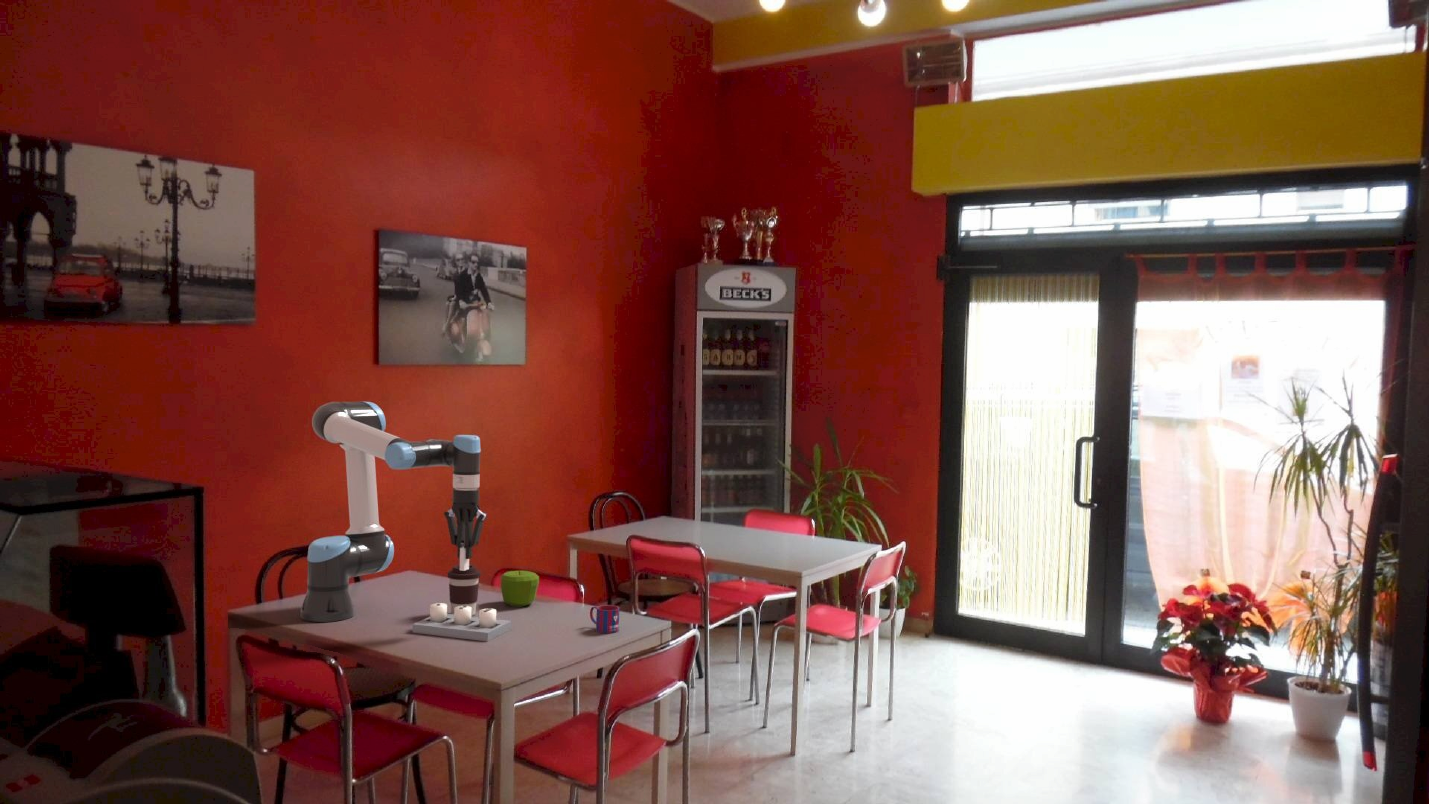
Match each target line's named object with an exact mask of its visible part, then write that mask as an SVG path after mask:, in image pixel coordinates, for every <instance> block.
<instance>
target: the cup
mask: <svg viewBox="0 0 1429 804" xmlns="http://www.w3.org/2000/svg"><path fill="white" fill-rule="evenodd" d="M594 609H596V618H594V615H593V614H594V613H593V612H594ZM589 617H590V620H591V622H592V623H593V624H594V625H595V630H596V632H597V633H600V634H615V633H618V632H619V631H620V630H619V629H620V607H619V606H618V605H613V604H602V605H599V606H591V608H590V611H589Z"/></svg>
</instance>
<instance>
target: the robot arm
mask: <svg viewBox="0 0 1429 804" xmlns="http://www.w3.org/2000/svg"><path fill="white" fill-rule="evenodd" d="M312 415H313V416H312V418H311V425H312V429H313V431H314V433H315V434H316V435H317V436H318V437H319V438H320V439H322V440H324V441H327V442H329V443H333V444H339V446H340V448H341V449H342V450H344V453H345V466H346V468H345V469H346V484H347V498H348V499H347V500H348V514H349V515H348V516H349V525H350V526H349V528H348V529H347V530H346V531H345V535H333V536H330V535H329V536H324V537H320V538H317V539H315V540H313V541H312V542H311V543H310V544H309V546H308V551H307V557H306V559H307V585H306V586H307V591H306V594H305V597H304V599H303V602H302V604H301V605H302V606H301V608H300V619H301V620H303V621H306V622H312V623H313V622H315V623H316V622H318V623H322V622H323V623H328V622H337V621H342V620H343V621H344V620H347V619H349V618H352V617H354V616H355V606H354V602H353V599H352V595H351V593H350V589H349V588H350V587H349V585H350V584H349V583H350V578H355V577H359V576H360V577H361V576H364V575H365V576H366V575H373V574H376V573H378V572H383V571H385V570H386V569H387V568H388V567H389V565H390V564H391V563H392V561H393V560H394V559H393V558H394V554H395V547H394V542H393V541H392V539H391V537H390V536H389V535H387V534H386V532H385V528H384V527H382V526H381V525H380V520H379V505H378V504H379V502H378V490H377V489H378V488H377V487H378V485H377V475H376V474H377V471H376V459H375V457H376V458H379V459H381V460H383V461H385V463H386V464H387V465H388V467H389V468H390V469H392V470H401V471H402V470H409V469H418V468H429V467H430V468H431V467H452V469H453V470H452V488H454V489H452V505H451V508H450V509H449V510H447V511H444V512H443V515H444V517H445V519H446V522H447V527H448V533H449V537H450V542H451V543H450V544H451V545H454V546H456V548H457V558H458V559H459V565H460V570H461V571H465V570H468V569H469V565H470V559H472V557H473V547H475V546H476V547H477V546H478V545H479V543H480V539H481V535H482V531H483V528H484V527H483V526H484V523H485V520H486V519H487V517H488V513H484V512H482V510H481V508H480V506H479V504H480V503H479V501H480V489H479V488H480V486H481V485H480V483H481V482H480V481H481V480H480V479H481V478H480V475H481V474H480V473H481V472H480V471H481V470H480V469H481V467H480V466H481V451H482V449H481V438H480V437H479V435H475V434H472V435H471V434H458V435H457V434H456V435H455V436H454V437H453V440H447V439H439V438H435V439H434V438H433V439H432V438H431V439H428V440H422V441H421V440H419V441H410V440H407V439H405V438H404V439H403V438H401V437H399V436H397V435H395V434H391V433H388V432H385V430H386V425H387V424H386V423H387V422H386V417H385V414H384V412H383V410H382V408H380V407H379V406H378V405H377V404H376V403H374V402H372V401H364V400H363V401H330V402H328V403H324V404H323V405H320V406H319V407H318V408H317V409H316V410H315V412H314V413H313V414H312ZM475 518H476V521H475ZM474 523H475V525H474Z"/></svg>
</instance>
